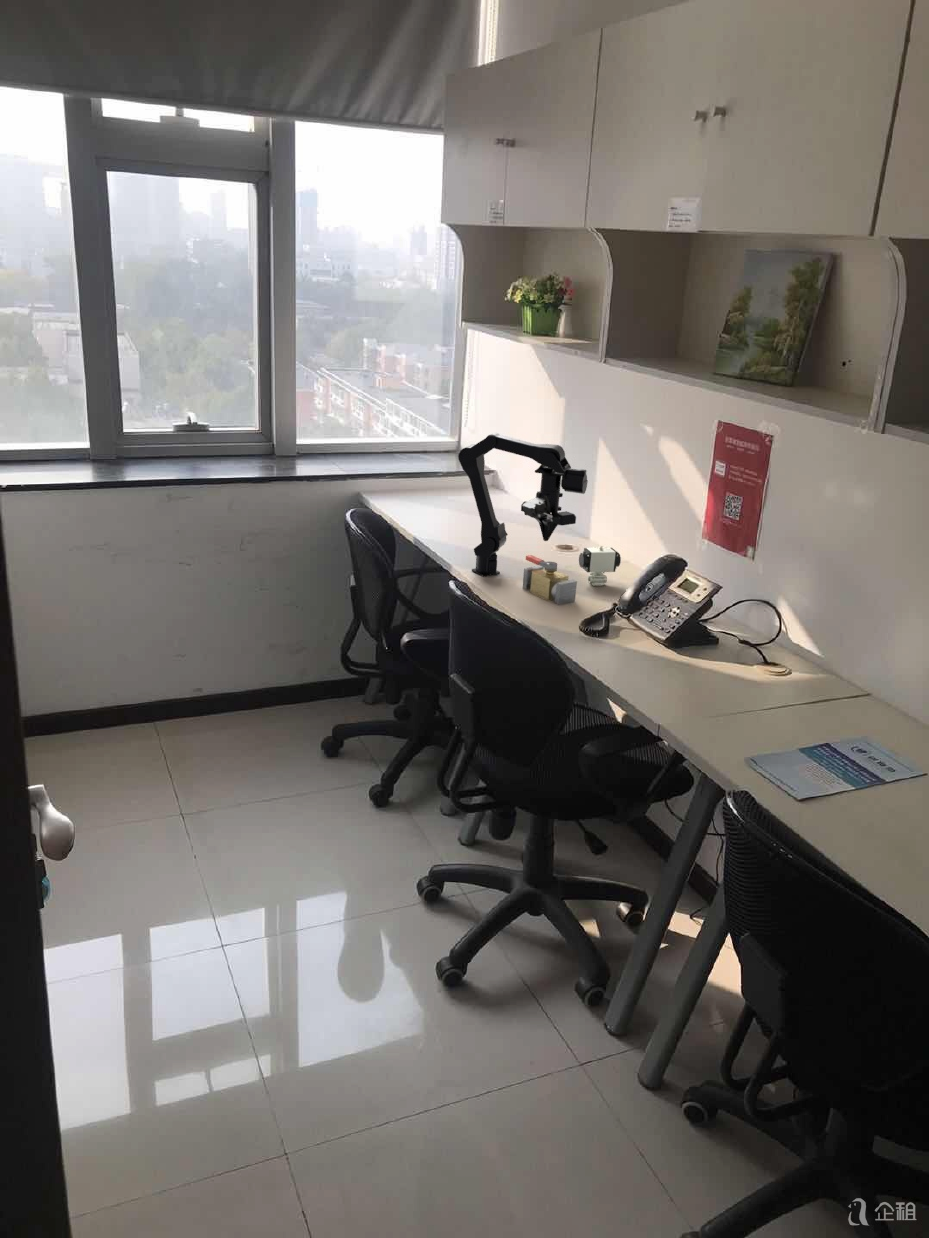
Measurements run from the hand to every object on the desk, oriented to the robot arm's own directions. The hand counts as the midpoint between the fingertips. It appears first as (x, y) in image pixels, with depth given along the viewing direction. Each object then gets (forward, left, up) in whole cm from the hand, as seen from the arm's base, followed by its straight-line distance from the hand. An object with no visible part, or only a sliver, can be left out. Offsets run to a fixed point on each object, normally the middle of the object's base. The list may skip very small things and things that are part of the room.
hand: (545, 540), depth 291 cm
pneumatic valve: (+9, +14, -13) cm, 21 cm away
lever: (+6, -6, -5) cm, 10 cm away
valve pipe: (+10, -6, -13) cm, 17 cm away
